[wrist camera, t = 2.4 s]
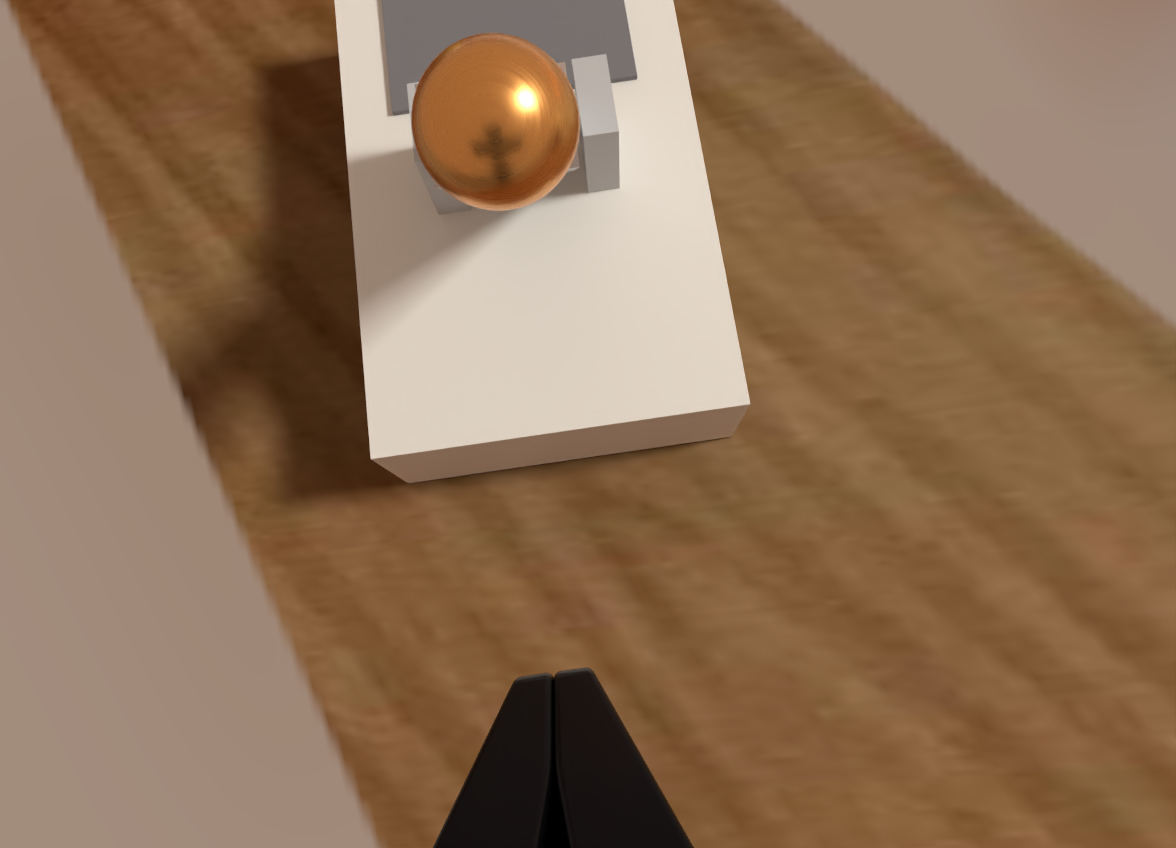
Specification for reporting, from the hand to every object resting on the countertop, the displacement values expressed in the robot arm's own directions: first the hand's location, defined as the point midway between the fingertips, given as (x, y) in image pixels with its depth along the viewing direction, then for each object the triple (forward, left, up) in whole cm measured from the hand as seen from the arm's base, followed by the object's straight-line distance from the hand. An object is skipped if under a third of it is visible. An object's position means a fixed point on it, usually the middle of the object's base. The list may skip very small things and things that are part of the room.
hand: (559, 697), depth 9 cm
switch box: (+11, -6, -13) cm, 18 cm away
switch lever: (+11, -6, -8) cm, 15 cm away
